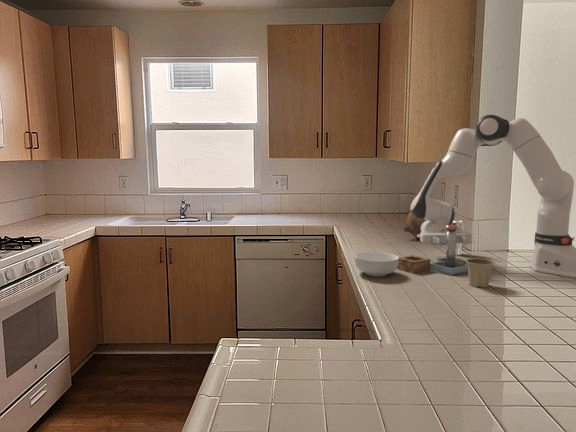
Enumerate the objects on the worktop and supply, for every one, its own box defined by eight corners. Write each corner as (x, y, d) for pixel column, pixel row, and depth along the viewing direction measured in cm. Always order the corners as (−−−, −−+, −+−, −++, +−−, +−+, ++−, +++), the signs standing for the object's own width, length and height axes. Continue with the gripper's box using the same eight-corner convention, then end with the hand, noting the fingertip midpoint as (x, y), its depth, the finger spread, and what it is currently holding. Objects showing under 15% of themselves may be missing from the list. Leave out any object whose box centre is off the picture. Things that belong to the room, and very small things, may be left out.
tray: (471, 271, 185) (471, 265, 184) (452, 275, 179) (452, 269, 179) (448, 265, 194) (448, 259, 194) (429, 269, 188) (429, 263, 188)
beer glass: (452, 256, 212) (454, 223, 210) (443, 252, 218) (445, 220, 216) (466, 255, 214) (467, 222, 211) (456, 252, 220) (458, 220, 218)
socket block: (429, 270, 187) (430, 259, 186) (413, 273, 182) (414, 262, 182) (412, 265, 195) (413, 255, 194) (396, 268, 190) (397, 257, 189)
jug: (443, 243, 239) (433, 242, 269) (452, 206, 240) (440, 209, 269) (403, 235, 242) (397, 234, 272) (412, 197, 242) (404, 201, 272)
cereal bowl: (399, 280, 172) (399, 262, 171) (353, 278, 176) (353, 260, 175) (398, 269, 189) (398, 252, 188) (356, 267, 192) (356, 250, 191)
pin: (459, 269, 186) (460, 226, 183) (451, 271, 183) (452, 227, 181) (449, 267, 190) (450, 224, 187) (441, 268, 187) (442, 225, 185)
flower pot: (469, 280, 173) (470, 257, 172) (496, 284, 167) (498, 260, 166) (460, 285, 166) (461, 261, 164) (488, 290, 160) (489, 265, 159)
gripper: (415, 227, 197) (426, 233, 183) (464, 227, 197) (478, 232, 184) (415, 242, 198) (425, 249, 184) (463, 242, 198) (477, 248, 185)
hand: (452, 241), depth 184 cm, fingers open, 8 cm apart
